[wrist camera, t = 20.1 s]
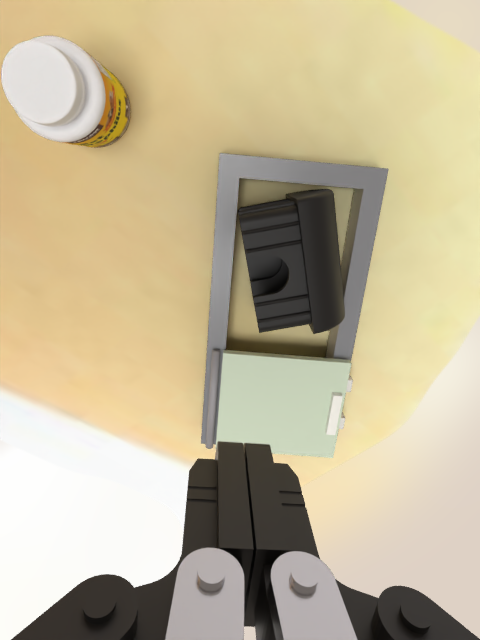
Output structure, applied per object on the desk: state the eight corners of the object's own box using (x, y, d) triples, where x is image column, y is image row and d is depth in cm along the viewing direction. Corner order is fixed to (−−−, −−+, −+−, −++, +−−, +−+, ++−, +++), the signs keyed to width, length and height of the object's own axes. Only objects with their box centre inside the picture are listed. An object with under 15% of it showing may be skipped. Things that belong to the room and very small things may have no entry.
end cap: (333, 300, 38) (354, 328, 31) (256, 314, 38) (261, 344, 31) (321, 186, 34) (342, 190, 28) (236, 202, 34) (237, 210, 28)
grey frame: (202, 427, 42) (201, 443, 39) (220, 154, 33) (219, 153, 31) (333, 435, 42) (339, 451, 40) (384, 169, 34) (396, 169, 31)
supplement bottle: (102, 163, 33) (50, 162, 23) (43, 109, 32) (-38, 83, 22) (147, 107, 32) (112, 82, 22) (88, 48, 30) (23, -7, 21)
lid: (205, 443, 39) (204, 452, 38) (212, 349, 36) (211, 355, 35) (331, 452, 40) (334, 462, 38) (349, 359, 36) (353, 366, 35)
